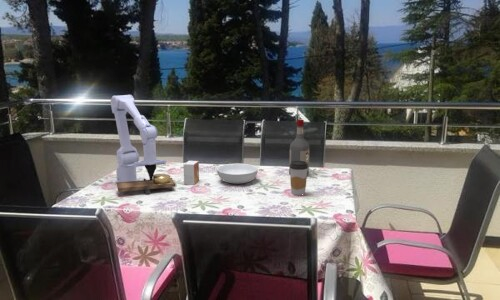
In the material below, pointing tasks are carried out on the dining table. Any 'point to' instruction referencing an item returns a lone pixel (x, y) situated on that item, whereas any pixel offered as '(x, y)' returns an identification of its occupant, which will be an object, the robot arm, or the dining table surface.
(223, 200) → the dining table surface
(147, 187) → the beam stand
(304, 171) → the coffee cup
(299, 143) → the liquor
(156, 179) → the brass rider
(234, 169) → the serving bowl
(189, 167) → the small box
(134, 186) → the beam
